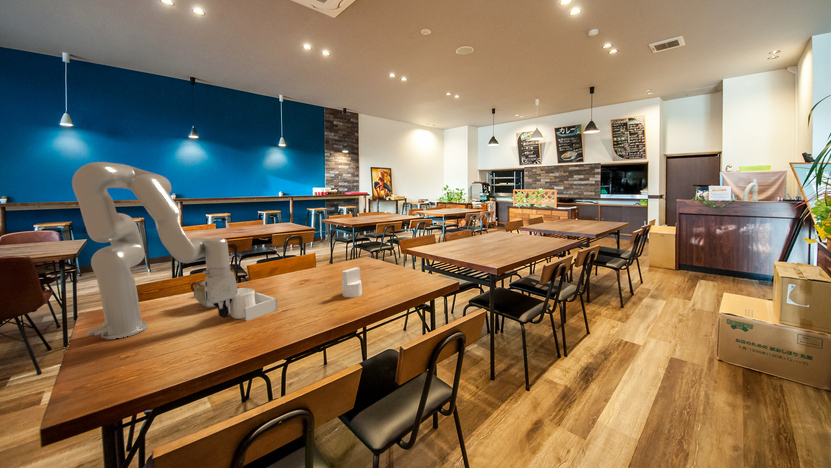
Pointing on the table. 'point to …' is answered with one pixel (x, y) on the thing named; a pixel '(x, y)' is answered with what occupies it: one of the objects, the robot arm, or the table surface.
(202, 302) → the sugar bowl
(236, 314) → the cup
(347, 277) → the base with upright slab
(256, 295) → the box
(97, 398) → the table surface
